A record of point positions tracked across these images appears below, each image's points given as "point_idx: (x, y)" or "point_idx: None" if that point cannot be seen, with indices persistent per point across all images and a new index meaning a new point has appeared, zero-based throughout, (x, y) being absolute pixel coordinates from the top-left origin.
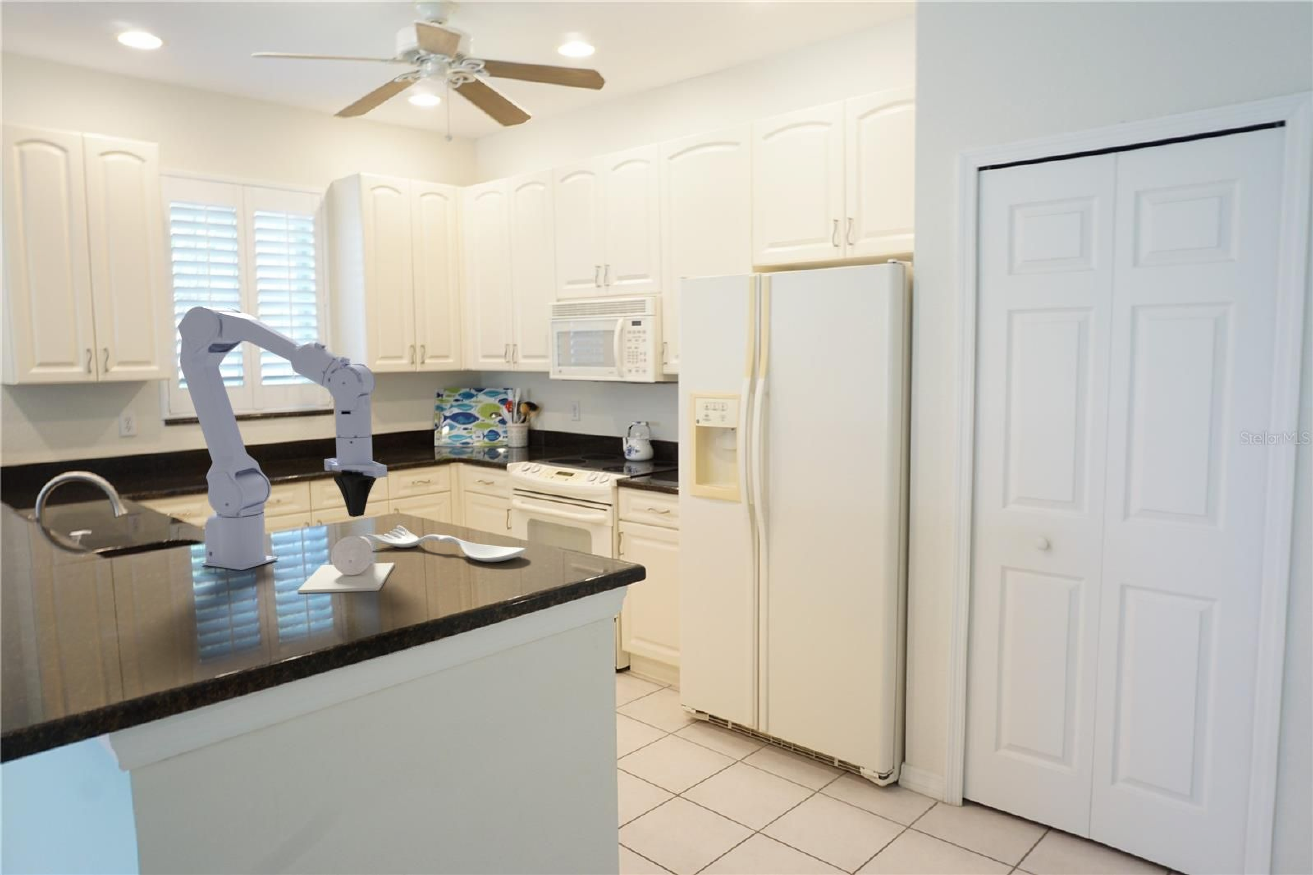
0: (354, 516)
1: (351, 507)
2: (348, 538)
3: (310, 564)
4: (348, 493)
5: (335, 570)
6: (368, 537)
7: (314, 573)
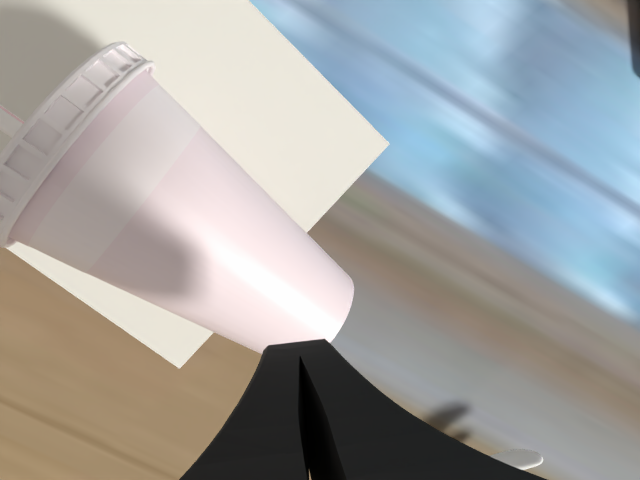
0: (263, 352)
1: (268, 374)
2: (20, 132)
3: (479, 143)
4: (274, 452)
5: (253, 133)
6: (520, 452)
7: (275, 34)
